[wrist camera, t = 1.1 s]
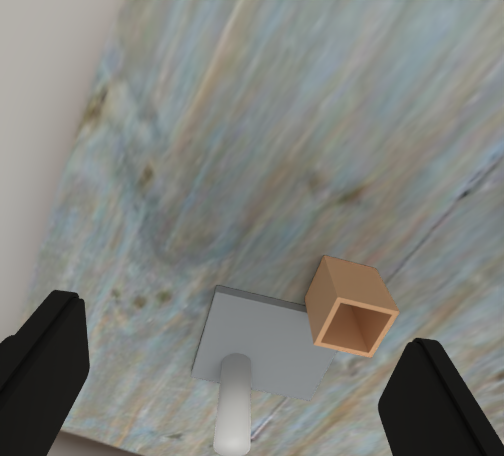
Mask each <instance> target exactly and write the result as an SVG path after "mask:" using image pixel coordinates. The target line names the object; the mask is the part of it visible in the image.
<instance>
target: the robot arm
mask: <svg viewBox="0 0 504 456" xmlns="http://www.w3.org/2000/svg"><path fill="white" fill-rule="evenodd" d="M89 368H90V363H89V351H88V339H87V327H86V315H85V303H84V300H83V299H79V296H78V294H77V293H75V292H67V291H60V290H54V291H52V292H51V293H50V294H49V295H48V297H47V298H46V299H45V300H44V301H43V302H42V304H41V305H40V306H39V307H38V308H37V309H36V311H35V312H34V313H33V314H32V315H31V317H30V318H29V319H28V320H27V321H26V322H25V324H24V325H23V326H22V327H21V328H20V329H19V331H18V332H17V333H16V334H15V335H11V336H9V337H7V338H6V339H5V340H3V341H2V342H1V343H0V456H47V454H48V452H49V450H50V448H51V446H52V444H53V442H54V440H55V438H56V436H57V434H58V432H59V431H60V429H61V427H62V425H63V423H64V421H65V419H66V417H67V415H68V413H69V411H70V409H71V408H72V406H73V404H74V402H75V400H76V398H77V396H78V394H79V392H80V390H81V388H82V386H83V385H84V383H85V381H86V379H87V376H88V373H89ZM378 411H379V415H380V418H381V421H382V424H383V427H384V430H385V433H386V436H387V439H388V442H389V445H390V448H391V451H392V454H393V456H504V445H503V443H502V442H501V440H500V438H499V437H498V435H497V434H496V432H495V430H494V429H493V427H492V426H491V424H490V422H489V421H488V419H487V418H486V416H485V414H484V413H483V411H482V410H481V408H480V406H479V405H478V403H477V401H476V400H475V398H474V397H473V395H472V393H471V392H470V390H469V389H468V387H467V385H466V384H465V382H464V381H463V379H462V377H461V376H460V374H459V373H458V371H457V369H456V368H455V366H454V365H453V363H452V361H451V360H450V358H449V357H448V355H447V353H446V352H445V350H444V348H443V347H442V345H441V344H440V343H439V342H438V341H436V340H430V339H423V338H415V339H414V340H413V341H412V342H409V343H408V344H407V345H406V347H405V349H404V351H403V353H402V355H401V357H400V359H399V361H398V363H397V365H396V367H395V369H394V371H393V373H392V375H391V377H390V379H389V381H388V383H387V386H386V388H385V390H384V392H383V394H382V396H381V398H380V400H379V403H378Z"/></svg>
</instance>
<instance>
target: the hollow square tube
mask: <svg viewBox="0 0 504 456" xmlns="http://www.w3.org/2000/svg"><path fill="white" fill-rule="evenodd" d="M305 303H306V308H307V313H308V318H309V324H310V329H311V334H312V339H313V344H314V345H316V346H321V347H325V348H330V349H334V350H339V351H343V352H348V353H352V354H357V355H361V356H366V357H370V358H372V356H373V354H374V353H375V351H376V350H377V348H378V346H379V345H380V343H381V341H382V340H383V338H384V337H385V335H386V333H387V332H388V330H389V329H390V327H391V325H392V324H393V322H394V321H395V319H396V317H397V316H398V314H399V312H400V311H399V309H398V308H397V306H396V304H395V302H394V300H393V299H392V297H391V295H390V293H389V291H388V290H387V288H386V286H385V284H384V282H383V280H382V279H381V277H380V275H379V273H378V271H377V270H376V268H372V267H369V266H365V265H361V264H357V263H353V262H349V261H345V260H341V259H337V258H333V257H329V256H325V255H324V256H323V258H322V260H321V263H320V265H319V267H318V269H317V272H316V274H315V276H314V278H313V280H312V283H311V285H310V287H309V289H308V292H307V294H306V296H305ZM342 303H345V304H342ZM346 304H349V305H346ZM350 305H351V306H350Z"/></svg>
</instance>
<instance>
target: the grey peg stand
mask: <svg viewBox="0 0 504 456" xmlns="http://www.w3.org/2000/svg"><path fill="white" fill-rule="evenodd" d="M337 351H338V350H334V349H330V348H325V347H321V346H316V345H314V344H313V339H312V334H311V329H310V324H309V318H308V313H307V308H306V306H304V305H300V304H295V303H291V302H287V301H283V300H278V299H274V298H270V297H266V296H261V295H257V294H253V293H249V292H244V291H240V290H236V289H232V288H227V287H223V286H219V285H217V287H216V290H215V293H214V297H213V300H212V304H211V307H210V310H209V314H208V317H207V321H206V324H205V327H204V331H203V334H202V338H201V341H200V344H199V348H198V351H197V355H196V358H195V361H194V365H193V368H192V373H191V377H192V378H197V379H202V380H207V381H212V382H217V383H220V388H219V398H218V407H217V416H216V426H215V435H214V444H213V447H214V450H215V451H216V452H217V453H218V454H220V455H222V456H243V455H245V454H246V453H248V452H249V450H250V436H251V390H256V391H261V392H266V393H271V394H276V395H281V396H286V397H291V398H296V399H301V400H306V401H310V400H311V398H312V396H313V394H314V393H315V391H316V389H317V387H318V385H319V383H320V382H321V380H322V378H323V376H324V374H325V373H326V371H327V369H328V367H329V365H330V364H331V362H332V360H333V358H334V356H335V354H336V353H337Z"/></svg>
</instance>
